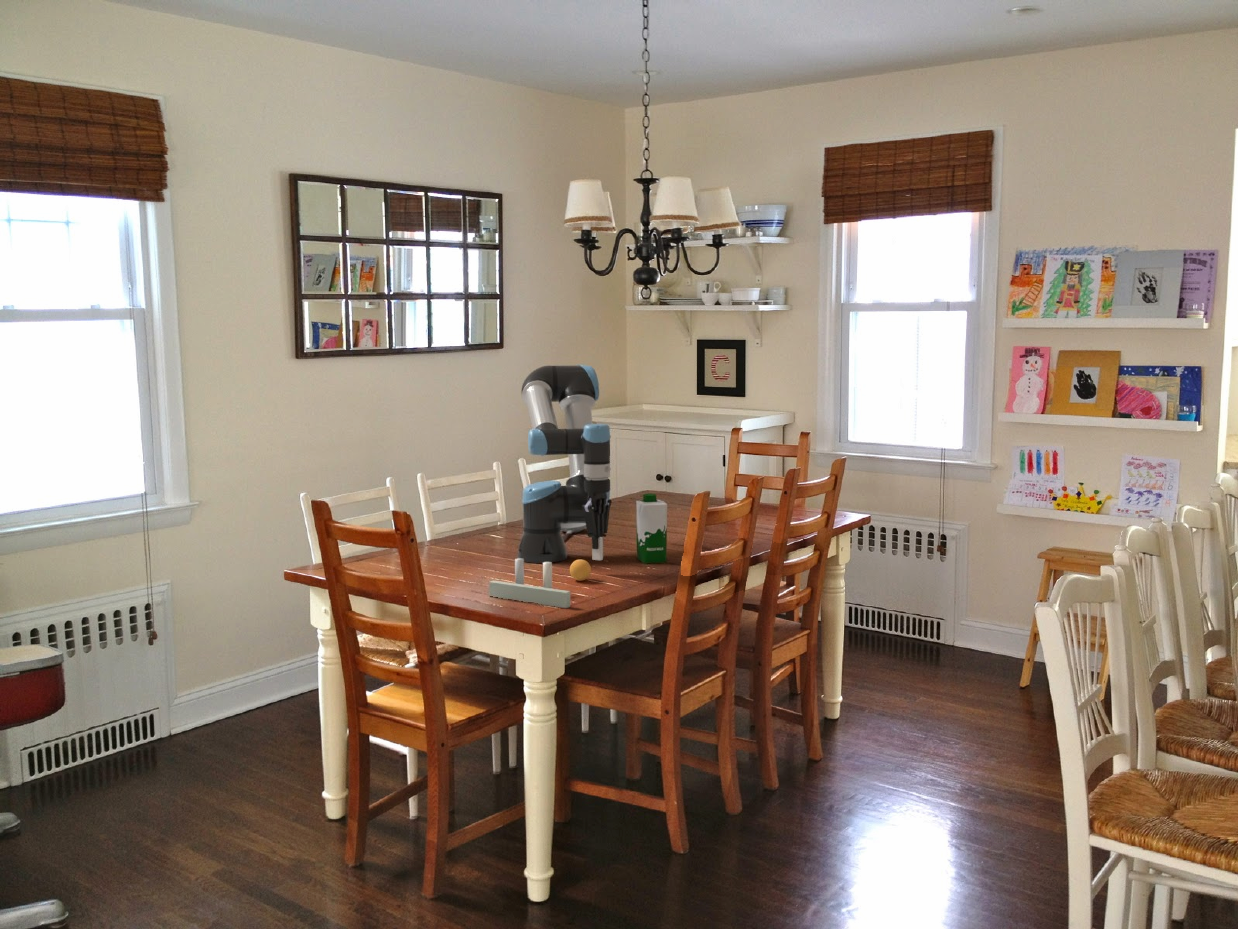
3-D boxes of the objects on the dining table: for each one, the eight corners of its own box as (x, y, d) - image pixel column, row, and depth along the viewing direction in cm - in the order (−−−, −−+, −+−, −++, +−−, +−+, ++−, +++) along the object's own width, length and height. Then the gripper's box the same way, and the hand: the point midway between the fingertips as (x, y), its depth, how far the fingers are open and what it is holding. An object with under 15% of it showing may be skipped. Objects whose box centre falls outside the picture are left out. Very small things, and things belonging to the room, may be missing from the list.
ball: (565, 581, 308) (565, 560, 307) (576, 577, 313) (576, 556, 312) (584, 584, 305) (584, 562, 304) (595, 579, 310) (594, 558, 309)
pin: (541, 594, 294) (541, 563, 293) (546, 592, 296) (546, 561, 295) (549, 595, 293) (548, 564, 292) (553, 593, 295) (553, 562, 294)
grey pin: (513, 590, 298) (513, 559, 297) (518, 588, 300) (518, 557, 299) (520, 591, 297) (520, 560, 296) (525, 589, 299) (525, 558, 298)
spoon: (592, 528, 383) (591, 519, 382) (571, 552, 351) (570, 543, 351) (562, 529, 385) (561, 521, 385) (538, 554, 353) (537, 544, 353)
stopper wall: (489, 596, 291) (488, 582, 291) (493, 595, 293) (493, 580, 293) (566, 608, 280) (566, 592, 279) (570, 606, 282) (570, 591, 281)
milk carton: (660, 556, 339) (661, 492, 337) (670, 563, 331) (670, 497, 328) (633, 558, 337) (633, 493, 334) (642, 564, 328) (642, 498, 326)
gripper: (596, 481, 306) (597, 565, 309) (619, 476, 317) (619, 556, 320) (573, 480, 310) (574, 562, 312) (597, 474, 321) (597, 554, 324)
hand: (597, 559), depth 316 cm, fingers closed
